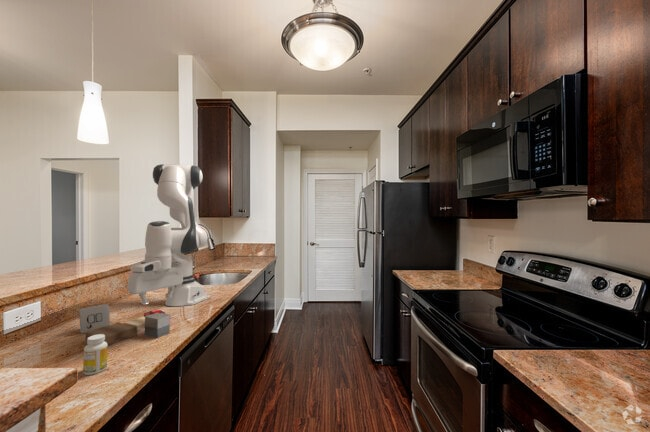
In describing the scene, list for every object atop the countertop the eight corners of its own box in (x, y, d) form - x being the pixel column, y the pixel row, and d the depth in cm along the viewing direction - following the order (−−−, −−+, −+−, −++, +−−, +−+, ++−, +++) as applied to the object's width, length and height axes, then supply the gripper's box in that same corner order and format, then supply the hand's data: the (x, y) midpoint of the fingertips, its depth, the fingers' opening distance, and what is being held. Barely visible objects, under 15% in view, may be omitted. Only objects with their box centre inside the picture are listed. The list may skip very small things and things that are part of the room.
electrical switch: (80, 334, 108) (80, 309, 108) (77, 332, 111) (77, 308, 111) (110, 327, 115) (110, 304, 116) (106, 325, 118) (106, 302, 119)
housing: (157, 330, 112) (157, 312, 112) (169, 333, 109) (169, 315, 110) (144, 335, 108) (144, 316, 108) (157, 338, 105) (157, 319, 105)
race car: (172, 320, 124) (173, 311, 124) (160, 324, 119) (161, 315, 119) (153, 315, 130) (153, 306, 130) (141, 319, 125) (141, 310, 125)
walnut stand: (118, 330, 112) (118, 322, 112) (136, 334, 108) (136, 326, 108) (85, 340, 102) (85, 332, 102) (104, 346, 98) (104, 337, 98)
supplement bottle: (85, 377, 79) (86, 342, 79) (81, 370, 82) (81, 337, 82) (109, 369, 83) (110, 336, 83) (104, 363, 86) (105, 331, 86)
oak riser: (143, 321, 122) (143, 316, 122) (156, 324, 119) (156, 319, 119) (123, 327, 115) (124, 322, 115) (137, 330, 112) (137, 325, 112)
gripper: (176, 260, 120) (175, 294, 119) (125, 267, 101) (124, 306, 100) (187, 261, 117) (186, 295, 117) (137, 268, 98) (136, 309, 98)
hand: (157, 300), depth 108 cm, fingers open, 8 cm apart
